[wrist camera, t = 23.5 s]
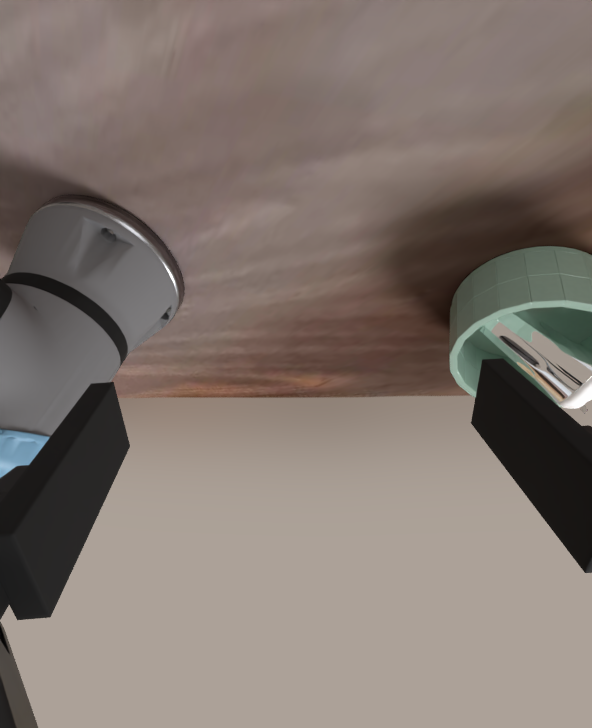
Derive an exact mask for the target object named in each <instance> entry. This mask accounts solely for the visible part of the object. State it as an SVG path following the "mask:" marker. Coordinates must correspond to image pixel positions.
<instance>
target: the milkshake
mask: <svg viewBox="0 0 592 728" xmlns="http://www.w3.org/2000/svg"><path fill="white" fill-rule="evenodd" d="M480 331H481V332H482V333H483V334H484V335H485V336H486V337H487V338H488V339H490V340H491V341H492V342H493V343H494V344H495V345H496V346H497V347H498V348H499V349H500V350H502V351H503V352H504V353H505V354H506V355H507V356H508V357H509V358H510V359H511V360H513V361H514V362H515V363H516V364H517V365H518V366H519V367H520V368H521V369H522V370H523V371H525V372H526V373H527V374H528V375H529V376H530V377H531V378H532V379H533V380H534V381H535V382H536V383H537V384H538V385H539V386H540V387H541V388H542V389H543V390H544V391H545V392H546V393H547V394H548V395H549V396H550V397H551V398H552V399H553V400H555V401H556V402H557V403H558V404H559V405H560V406H561V407H564V408H572V409H574V408H580V409H581V411H582V412H583V413H584V414H585V413H586V412H587V411H588V409H587V408H586V407H585V406H584V404H585V403H586V402H588V401H590V400H591V399H592V350H591V349H589V348H588V347H586V346H584V345H583V344H581V343H579V342H578V341H576V340H574V339H572V338H570V337H568V336H567V335H565V334H563V333H562V332H560V331H558V330H557V329H555V328H554V327H552V326H550V325H549V324H547V323H546V322H544V321H542V320H541V319H539V318H538V317H536V316H535V315H533V314H531V313H530V312H528V311H527V310H523V311H519V312H515V313H511V314H507V315H503V316H501V317H499V318H497V319H495V320H493V321H491V322H489V323H487V324H485V325H483V326H482V328H481V329H480Z"/></svg>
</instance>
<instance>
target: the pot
mask: <svg viewBox="0 0 592 728" xmlns="http://www.w3.org/2000/svg"><path fill="white" fill-rule="evenodd" d="M523 310H527V311H528V312H530V313H531V314H533V315H535V316H536V317H538V318H539V319H541V320H542V321H544V322H546V323H547V324H549V325H550V326H552V327H554V328H555V329H557V330H558V331H560V332H562V333H563V334H565V335H567V336H568V337H570V338H572V339H574V340H576V341H578V342H579V343H581V344H583V345H584V346H586V347H588V348H589V349H591V350H592V255H590V254H588V253H586V252H583V251H580V250H576V249H572V248H566V247H557V246H540V247H531V248H524V249H520V250H516V251H512V252H509V253H506V254H503V255H501V256H498V257H496V258H494V259H492V260H490V261H488V262H486V263H485V264H483V265H481V266H480V267H478V268H477V269H476V270H474V271H473V272H472V273H471V274H470V275H469V276H467V277H466V278H465V280H464V281H463V282H462V283H461V284H460V286H459V287H458V289H457V290H456V292H455V294H454V297H453V299H452V303H451V308H450V346H449V360H450V372H451V373H452V375H453V377H454V379H455V380H456V382H457V384H458V385H459V386H460V387H461V388H463V389H464V390H465V391H466V392H468V393H469V394H470V395H471V396H473V397H475V398H476V392H477V387H478V381H479V375H480V370H481V364H482V360H483V359H499V358H503V359H504V360H506V361H507V362H508V363H509V364H510V365H511V366H513V367H514V368H515V369H516V370H517V371H518V372H520V373H521V374H522V375H523V376H524V377H525V378H526V379H528V380H529V381H530V382H531V383H532V384H533V385H535V386H536V387H537V388H538V389H539V390H540V391H542V392H543V393H544V394H545V395H546V396H547V397H549V398H550V399H551V400H552V401H553V402H554V403H555V404H557V405H558V406H559V407H560V408H561V406H560V405H559V404H558V403H557V402H556V401H555V400H553V399H552V398H551V397H550V396H549V395H548V394H547V393H546V392H545V391H544V390H543V389H542V388H541V387H540V386H539V385H538V384H537V383H536V382H535V381H534V380H533V379H532V378H531V377H530V376H529V375H528V374H527V373H526V372H525V371H523V370H522V369H521V368H520V367H519V366H518V365H517V364H516V363H515V362H514V361H513V360H511V359H510V358H509V357H508V356H507V355H506V354H505V353H504V352H503V351H502V350H500V349H499V348H498V347H497V346H496V345H495V344H494V343H493V342H492V341H491V340H490V339H488V338H487V337H486V336H485V335H484V334H483V333H482V332H481V331H480V329H481V328H482V326H483V325H485V324H487V323H489V322H491V321H493V320H495V319H497V318H499V317H501V316H503V315H507V314H511V313H515V312H519V311H523Z"/></svg>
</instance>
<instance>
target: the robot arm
mask: <svg viewBox="0 0 592 728" xmlns="http://www.w3.org/2000/svg"><path fill="white" fill-rule="evenodd" d="M183 297H184V282H183V277H182V274H181V271H180V269H179V266H178V264H177V262H176V261H175V259H174V257H173V256H172V254H171V252H170V251H169V250H168V248H167V247H166V246H165V244H164V243H163V242H162V241H161V240H160V239H159V238H158V237H157V236H156V235H155V233H153V232H152V231H151V230H150V229H149V228H148V227H147V226H146V225H144V224H143V223H142V222H141V221H139V220H138V219H136V218H135V217H134V216H132V215H131V214H129V213H127V212H126V211H124V210H122V209H120V208H118V207H117V206H115V205H112V204H110V203H108V202H105V201H102V200H100V199H96V198H93V197H88V196H83V195H63V196H59V197H55V198H53V199H51V200H49V201H48V202H46V203H45V204H44V205H43V206H42V207H41V208H40V209H38V210H37V211H36V212H35V213H34V214H33V215H32V216H31V218H30V219H29V221H28V223H27V225H26V227H25V230H24V232H23V235H22V237H21V240H20V242H19V245H18V247H17V250H16V253H15V255H14V258H13V260H12V263H11V265H10V268H9V270H8V273H7V274H6V275H5V276H4V277H3V278H2V279H0V619H1V618H2V616H3V614H4V612H5V610H6V609H7V607H8V605H10V607H11V608H12V610H13V612H14V614H15V616H16V618H17V620H23V619H35V618H47V617H51V614H52V613H53V610H54V608H55V606H56V604H57V602H58V600H59V598H60V595H61V593H62V591H63V589H64V587H65V585H66V582H67V580H68V578H69V576H70V574H71V572H72V570H73V567H74V565H75V563H76V561H77V559H78V556H79V555H80V552H81V550H82V548H83V546H84V544H85V542H86V540H87V537H88V535H89V533H90V531H91V529H92V527H93V524H94V522H95V520H96V518H97V516H98V514H99V512H100V509H101V507H102V505H103V503H104V501H105V499H106V496H107V494H108V492H109V490H110V488H111V486H112V484H113V482H114V479H115V477H116V475H117V473H118V471H119V469H120V466H121V464H122V462H123V460H124V458H125V456H126V454H127V451H128V449H129V447H130V444H129V441H128V437H127V433H126V429H125V425H124V421H123V417H122V413H121V409H120V406H119V402H118V398H117V394H116V390H115V386H114V382H111V381H112V379H113V378H114V376H115V374H116V373H117V371H118V370H119V368H120V366H121V365H122V363H123V361H124V360H125V358H126V357H127V355H128V354H129V353H130V352H131V351H132V350H134V349H135V348H136V347H138V346H139V345H140V344H142V343H143V342H144V341H146V340H147V339H148V338H150V337H151V336H152V335H154V334H155V333H156V332H158V331H159V330H160V329H162V328H163V327H164V326H166V325H167V324H168V323H169V322H170V321H171V320H172V319H173V317H174V316H175V314H176V312H177V311H178V309H179V307H180V305H181V304H182V301H183ZM471 424H472V425H473V426H474V428H475V429H476V430H477V432H478V433H479V434H480V436H481V437H482V438H483V439H484V441H485V442H486V443H487V445H488V446H489V447H490V449H491V450H492V451H493V453H494V454H495V455H496V456H497V458H498V459H499V460H500V462H501V463H502V464H503V466H504V467H505V468H506V470H507V471H508V472H509V474H510V475H511V476H512V477H513V479H514V480H515V481H516V483H517V484H518V485H519V487H520V488H521V489H522V491H523V492H524V493H525V495H526V496H527V497H528V498H529V500H530V501H531V502H532V504H533V505H534V506H535V508H536V509H537V510H538V512H539V513H540V514H541V516H542V517H543V518H544V519H545V521H546V522H547V524H548V525H549V526H550V527H551V529H552V530H553V531H554V533H555V534H556V535H557V537H558V538H559V539H560V540H561V542H562V543H563V544H564V546H565V547H566V548H567V550H568V551H569V552H570V554H571V555H572V556H573V558H574V559H575V560H576V561H577V563H578V564H579V566H580V567H581V568H582V569H583V571H584V572H585V573H591V572H592V427H591V426H581V425H580V424H579V423H577V422H576V421H575V420H574V419H573V418H572V417H571V416H569V415H568V414H567V413H566V412H565V411H563V410H562V409H561V408H560V407H559V406H558V405H557V404H555V403H554V402H553V401H552V400H551V399H550V398H549V397H547V396H546V395H545V394H544V393H543V392H542V391H540V390H539V389H538V388H537V387H536V386H535V385H533V384H532V383H531V382H530V381H529V380H528V379H526V378H525V377H524V376H523V375H522V374H521V373H520V372H518V371H517V370H516V369H515V368H514V367H513V366H511V365H510V364H509V363H508V362H507V361H506V360H504V359H503V358H499V359H483V360H482V364H481V370H480V375H479V381H478V387H477V392H476V398H475V404H474V410H473V416H472V422H471ZM0 728H38V726H37V723H36V720H35V717H34V714H33V711H32V708H31V706H30V702H29V699H28V697H27V694H26V691H25V688H24V685H23V682H22V679H21V676H20V674H19V670H18V668H17V665H16V662H15V659H14V656H13V653H12V650H11V647H10V644H9V642H8V639H7V636H6V633H5V630H4V628H3V626H2V624H1V622H0Z"/></svg>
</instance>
